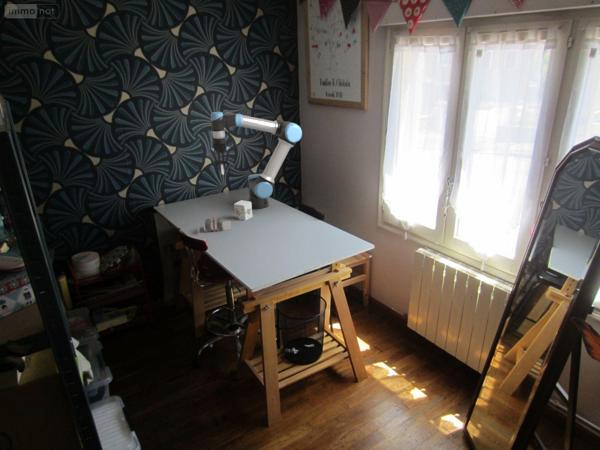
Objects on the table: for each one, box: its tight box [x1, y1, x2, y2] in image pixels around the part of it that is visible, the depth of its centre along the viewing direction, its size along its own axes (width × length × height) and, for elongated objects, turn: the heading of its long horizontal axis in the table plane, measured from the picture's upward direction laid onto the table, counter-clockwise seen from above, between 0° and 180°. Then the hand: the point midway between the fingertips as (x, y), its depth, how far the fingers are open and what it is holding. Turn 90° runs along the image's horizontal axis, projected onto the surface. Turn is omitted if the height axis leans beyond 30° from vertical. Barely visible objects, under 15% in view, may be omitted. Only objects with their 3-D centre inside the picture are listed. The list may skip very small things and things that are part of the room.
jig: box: [204, 214, 224, 233], centre depth 255 cm, size 32×9×9 cm, turn 99°
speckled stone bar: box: [203, 220, 232, 233], centre depth 255 cm, size 16×4×4 cm, turn 99°
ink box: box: [233, 199, 254, 221], centre depth 271 cm, size 9×9×12 cm
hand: (222, 174), depth 269 cm, fingers closed
